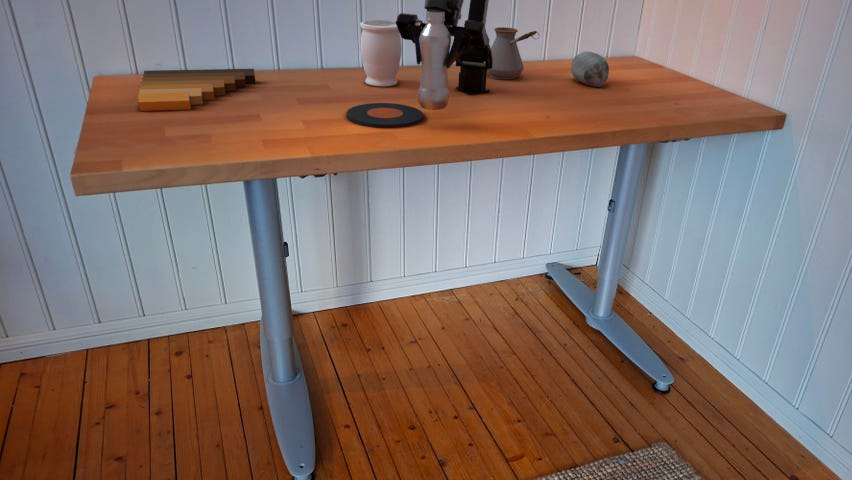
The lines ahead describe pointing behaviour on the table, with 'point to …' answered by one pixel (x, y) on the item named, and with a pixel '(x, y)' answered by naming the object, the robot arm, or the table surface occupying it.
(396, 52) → the jar
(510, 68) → the coffee pot
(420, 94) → the plastic bottle
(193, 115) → the table surface
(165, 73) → the pan flute
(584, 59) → the grey river stone
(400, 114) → the ring
